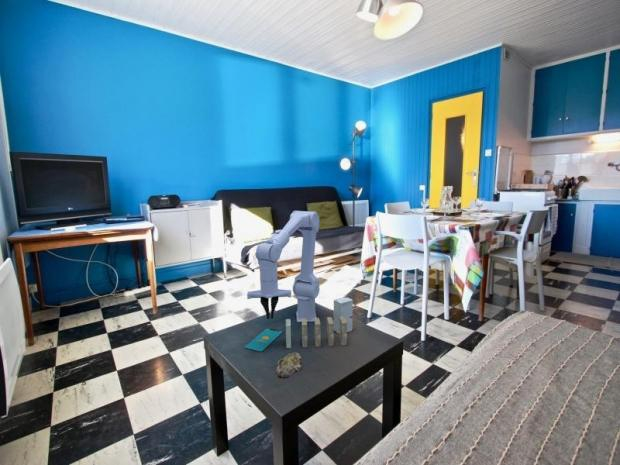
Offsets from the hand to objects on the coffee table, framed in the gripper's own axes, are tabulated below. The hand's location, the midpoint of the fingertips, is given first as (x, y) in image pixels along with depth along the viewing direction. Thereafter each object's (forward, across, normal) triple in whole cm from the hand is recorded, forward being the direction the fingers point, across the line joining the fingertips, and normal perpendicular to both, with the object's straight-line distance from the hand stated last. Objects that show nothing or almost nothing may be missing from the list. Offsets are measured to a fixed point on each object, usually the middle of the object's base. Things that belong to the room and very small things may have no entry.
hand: (270, 317), depth 104 cm
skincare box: (+10, +26, +8) cm, 29 cm away
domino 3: (+10, +16, 0) cm, 19 cm away
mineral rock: (+10, +6, -14) cm, 18 cm away
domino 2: (+10, +12, 0) cm, 15 cm away
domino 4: (+10, +20, 0) cm, 23 cm away
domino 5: (+10, +25, 0) cm, 27 cm away
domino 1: (+10, +6, 0) cm, 12 cm away
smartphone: (+10, -2, +4) cm, 11 cm away
